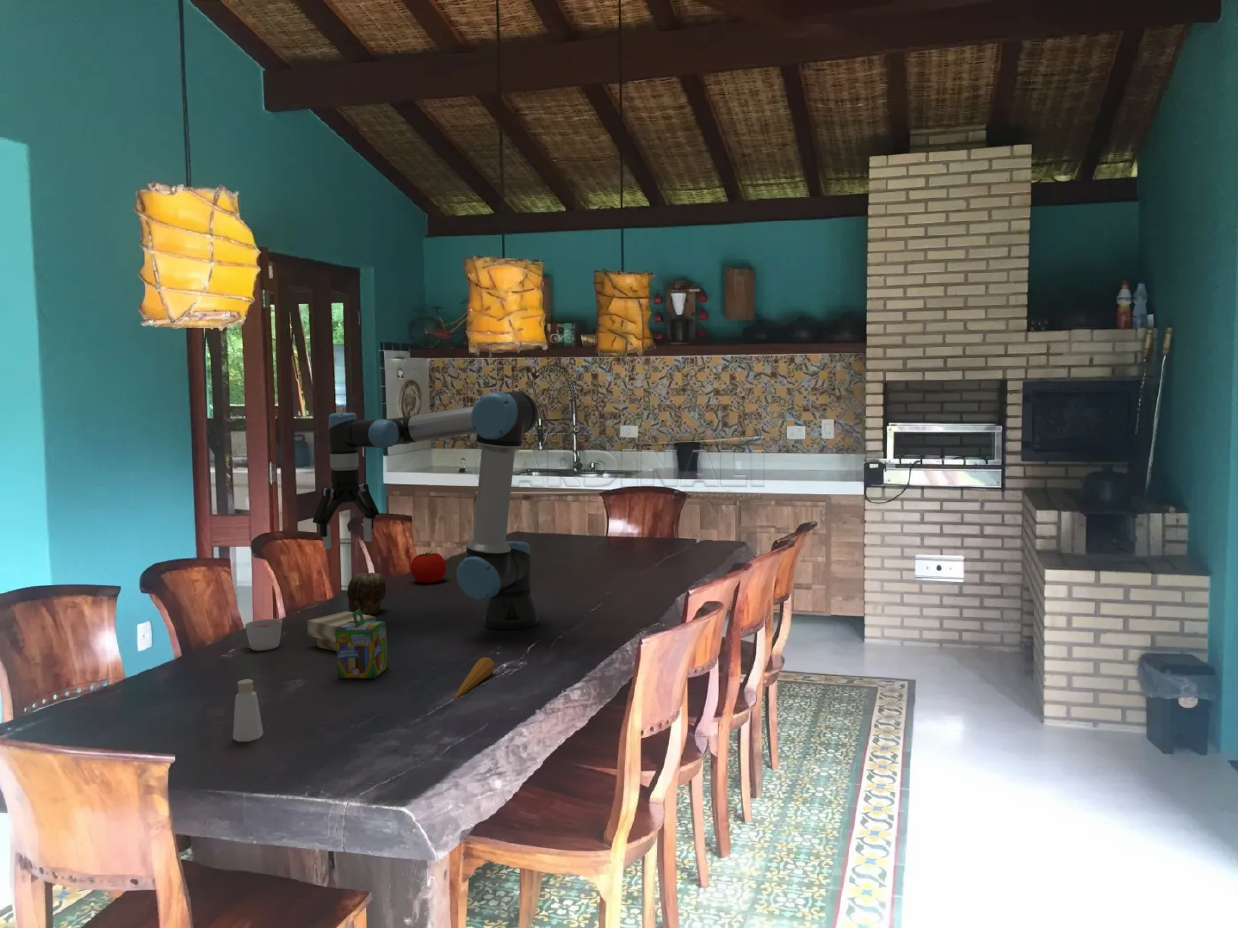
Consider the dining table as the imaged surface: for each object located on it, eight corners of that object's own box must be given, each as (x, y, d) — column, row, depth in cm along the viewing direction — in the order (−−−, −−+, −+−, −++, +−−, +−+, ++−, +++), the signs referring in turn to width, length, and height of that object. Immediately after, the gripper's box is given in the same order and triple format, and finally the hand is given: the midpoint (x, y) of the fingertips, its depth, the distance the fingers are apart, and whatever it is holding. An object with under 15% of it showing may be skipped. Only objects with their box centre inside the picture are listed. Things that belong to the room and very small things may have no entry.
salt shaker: (226, 740, 183) (223, 683, 183) (247, 730, 188) (244, 675, 188) (249, 743, 182) (246, 686, 181) (269, 733, 187) (266, 677, 186)
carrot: (483, 675, 224) (475, 658, 224) (500, 669, 223) (492, 652, 222) (448, 712, 205) (439, 693, 205) (466, 706, 204) (457, 687, 203)
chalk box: (374, 679, 219) (372, 615, 218) (336, 679, 221) (333, 615, 219) (389, 667, 229) (386, 606, 227) (352, 667, 230) (349, 605, 229)
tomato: (444, 577, 334) (443, 548, 333) (449, 584, 323) (448, 553, 322) (408, 580, 330) (407, 550, 329) (412, 587, 319) (411, 556, 318)
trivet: (368, 643, 250) (367, 632, 250) (339, 651, 243) (339, 640, 243) (345, 638, 255) (345, 627, 255) (317, 646, 248) (316, 635, 248)
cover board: (376, 631, 250) (375, 616, 250) (338, 642, 241) (337, 626, 240) (346, 625, 257) (345, 610, 257) (308, 635, 248) (307, 620, 247)
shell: (376, 617, 278) (375, 576, 277) (341, 616, 280) (339, 575, 279) (392, 609, 289) (391, 569, 288) (358, 607, 291) (357, 568, 290)
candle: (282, 650, 246) (281, 625, 245) (244, 653, 243) (243, 628, 243) (284, 641, 254) (283, 617, 254) (247, 644, 252) (246, 620, 251)
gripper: (373, 464, 279) (376, 537, 281) (297, 472, 259) (300, 550, 261) (389, 465, 274) (392, 539, 276) (313, 473, 255) (317, 552, 256)
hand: (348, 544), depth 269 cm, fingers open, 13 cm apart
